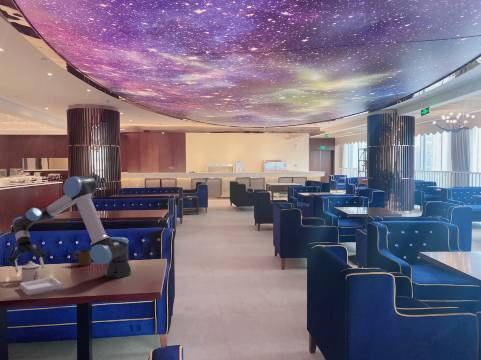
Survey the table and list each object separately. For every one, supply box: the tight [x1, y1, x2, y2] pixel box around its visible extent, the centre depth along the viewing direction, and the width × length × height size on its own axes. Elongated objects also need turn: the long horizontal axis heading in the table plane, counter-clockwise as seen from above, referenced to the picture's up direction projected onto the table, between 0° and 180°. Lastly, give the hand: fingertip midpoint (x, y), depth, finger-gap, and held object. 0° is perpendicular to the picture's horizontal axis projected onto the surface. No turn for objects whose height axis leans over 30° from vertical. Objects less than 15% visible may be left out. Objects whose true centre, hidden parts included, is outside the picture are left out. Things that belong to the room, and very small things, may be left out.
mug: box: [72, 249, 92, 267], centre depth 271 cm, size 12×8×9 cm, turn 93°
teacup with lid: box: [21, 260, 40, 283], centre depth 232 cm, size 12×9×12 cm
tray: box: [19, 277, 64, 297], centre depth 217 cm, size 17×17×3 cm
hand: (30, 269), depth 232 cm, fingers open, 13 cm apart
